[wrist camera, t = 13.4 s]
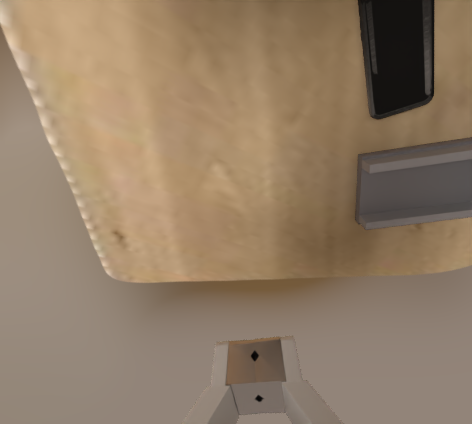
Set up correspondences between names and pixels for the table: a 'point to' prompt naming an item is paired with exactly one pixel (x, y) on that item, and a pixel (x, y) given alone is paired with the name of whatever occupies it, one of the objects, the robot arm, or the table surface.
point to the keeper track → (415, 184)
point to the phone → (397, 54)
